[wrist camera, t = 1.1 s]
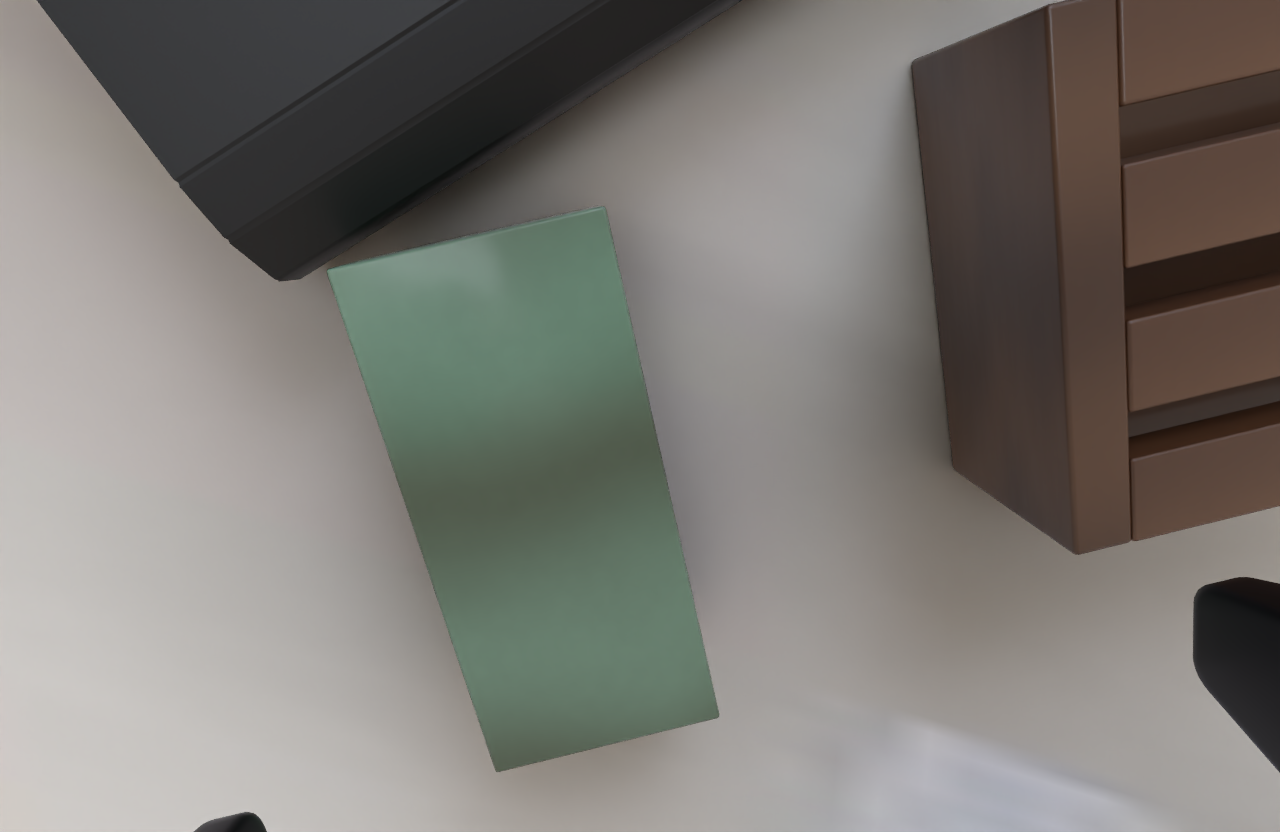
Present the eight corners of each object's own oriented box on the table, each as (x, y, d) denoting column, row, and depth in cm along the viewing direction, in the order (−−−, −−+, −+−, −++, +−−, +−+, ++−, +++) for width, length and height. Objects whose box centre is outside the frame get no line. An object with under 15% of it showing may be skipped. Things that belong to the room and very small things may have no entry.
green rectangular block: (691, 619, 20) (720, 718, 16) (510, 664, 20) (495, 773, 16) (597, 204, 17) (605, 205, 13) (381, 254, 17) (324, 269, 13)
